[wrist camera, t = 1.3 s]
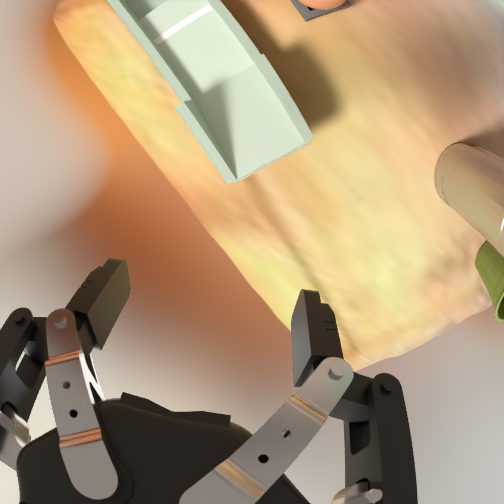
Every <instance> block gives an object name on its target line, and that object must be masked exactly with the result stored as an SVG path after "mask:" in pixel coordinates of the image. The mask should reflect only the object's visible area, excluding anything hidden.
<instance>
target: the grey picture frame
mask: <svg viewBox="0 0 504 504" xmlns="http://www.w3.org/2000/svg"><path fill="white" fill-rule="evenodd" d="M290 1H291V2H292V3H293V5H294V6H295V7H296V9H297V10H298V11H299V13H300V14H301V15H302V17H303V18H304V20H305V21H306V22H307V21H309V20H312V19H314V18H317V17H320V16H323V15H326V14H328V13H331V12H334V11H338V10H341V9H344V8H347V7H349V6H350V5H351V3H350V2H349V0H346V1H345V2H344V3H343V4H342V5H340V6H338V7H336V8H333V9H328V10H320V9H314V10H312V11H310V10H309V9H308V7H307V6H306V5H304V4H302V3H301V2H299V1H298V0H290Z"/></svg>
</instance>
